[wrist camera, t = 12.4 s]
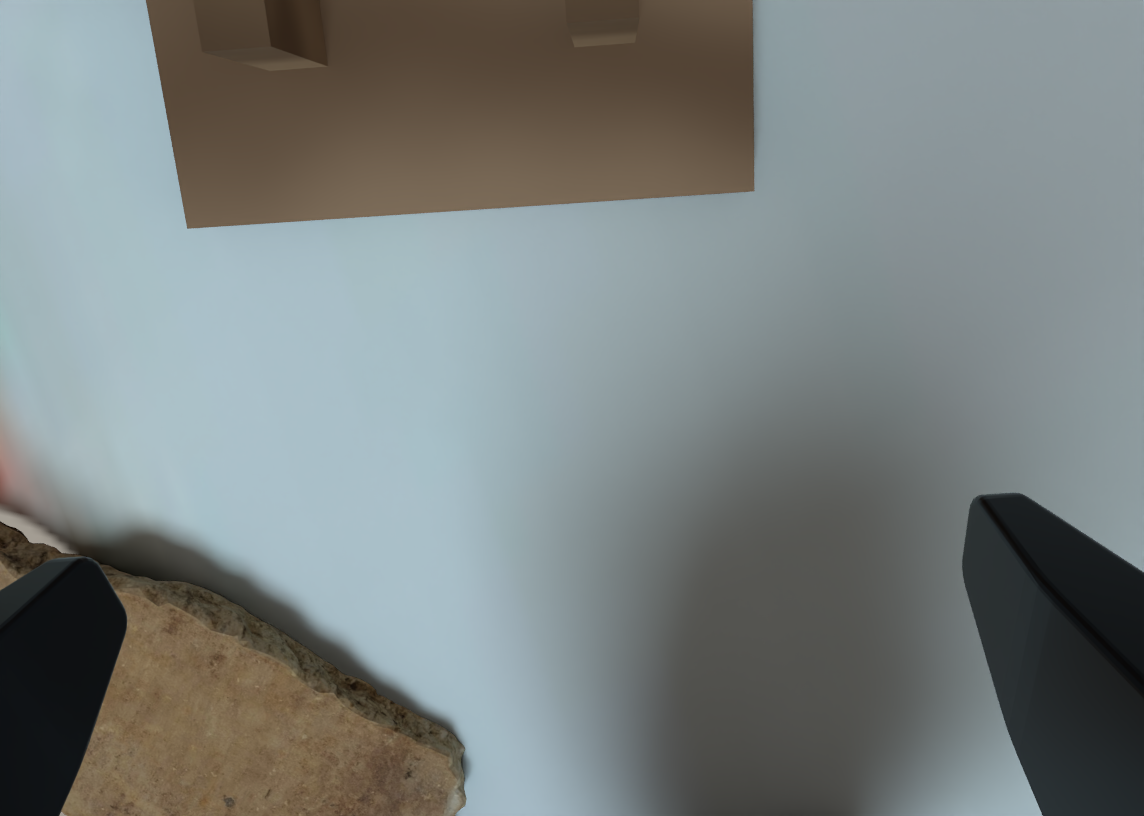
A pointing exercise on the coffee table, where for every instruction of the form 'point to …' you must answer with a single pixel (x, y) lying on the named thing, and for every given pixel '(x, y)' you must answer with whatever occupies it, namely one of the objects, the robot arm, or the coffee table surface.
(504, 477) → the coffee table surface
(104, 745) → the pottery shard
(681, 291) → the coffee table surface
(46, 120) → the coffee table surface
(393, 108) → the walnut rack
